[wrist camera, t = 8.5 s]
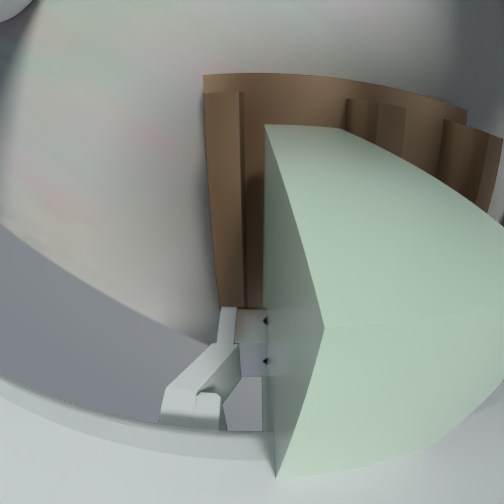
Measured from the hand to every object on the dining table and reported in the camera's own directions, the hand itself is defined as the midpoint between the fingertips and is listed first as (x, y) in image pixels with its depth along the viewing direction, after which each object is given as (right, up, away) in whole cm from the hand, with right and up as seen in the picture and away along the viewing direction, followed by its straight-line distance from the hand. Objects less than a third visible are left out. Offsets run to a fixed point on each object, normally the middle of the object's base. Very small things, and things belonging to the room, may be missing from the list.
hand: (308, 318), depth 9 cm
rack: (+3, +5, +7) cm, 9 cm away
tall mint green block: (0, +2, +4) cm, 4 cm away
